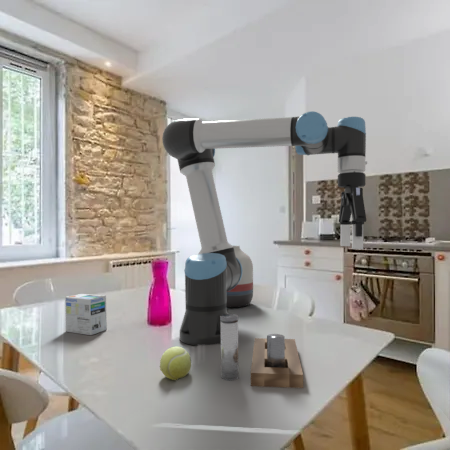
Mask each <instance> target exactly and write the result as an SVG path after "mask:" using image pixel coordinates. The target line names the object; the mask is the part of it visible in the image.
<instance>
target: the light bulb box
mask: <svg viewBox="0 0 450 450" xmlns="http://www.w3.org/2000/svg"><path fill="white" fill-rule="evenodd" d="M64 300H65V305H64V306H65V332H67V333H74V334H78V335H79V334H80V335H88V336H93V335H95V334H98V333H102V332H105V331H107V329H108V328H107V326H108V325H107V295H103V294H102V295H99V294H88V293H87V294H86V293H79V294H75V295H67V296H65V299H64Z"/></svg>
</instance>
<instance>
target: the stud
mask: <svg viewBox="0 0 450 450" xmlns="http://www.w3.org/2000/svg"><path fill="white" fill-rule="evenodd" d="M220 321H221V343H220V377H221V379H222V380H225V381H234V380H235V381H236V380H237V379H239V315H238V314H235V313H228V314H223V315H220Z"/></svg>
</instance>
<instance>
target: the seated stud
mask: <svg viewBox="0 0 450 450" xmlns="http://www.w3.org/2000/svg"><path fill="white" fill-rule="evenodd" d="M266 338H267V367H275V368H285V339H286V338H285V336H284V335H283V334H280V333H279V334H278V333H272V334H268V335H267V336H266Z"/></svg>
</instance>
